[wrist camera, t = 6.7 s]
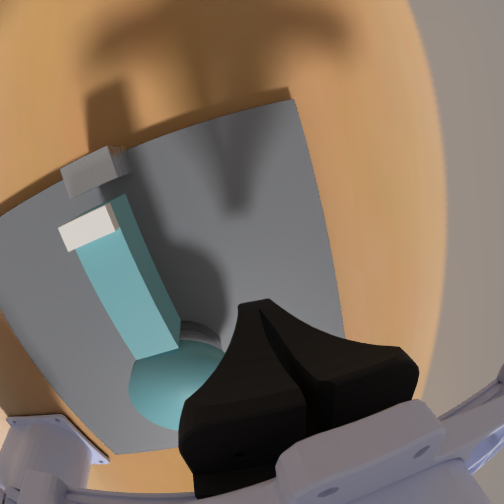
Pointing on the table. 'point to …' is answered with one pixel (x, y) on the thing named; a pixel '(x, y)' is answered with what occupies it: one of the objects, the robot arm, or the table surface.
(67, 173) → the block
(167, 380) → the teal elongated piece
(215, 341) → the post
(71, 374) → the base board
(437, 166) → the table surface
